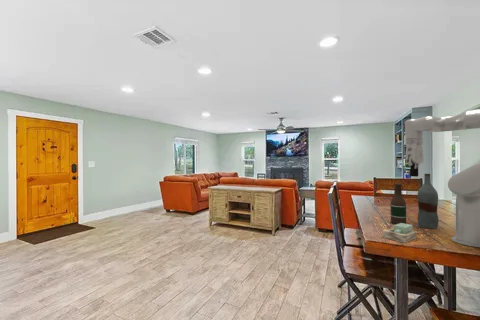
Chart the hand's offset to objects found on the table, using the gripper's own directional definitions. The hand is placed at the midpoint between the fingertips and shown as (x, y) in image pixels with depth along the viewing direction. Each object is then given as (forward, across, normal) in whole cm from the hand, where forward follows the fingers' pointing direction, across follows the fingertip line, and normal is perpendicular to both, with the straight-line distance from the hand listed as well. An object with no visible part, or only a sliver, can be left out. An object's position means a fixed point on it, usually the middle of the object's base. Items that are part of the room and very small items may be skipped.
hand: (414, 176), depth 124 cm
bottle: (+26, -11, -1) cm, 29 cm away
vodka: (+29, +14, -1) cm, 32 cm away
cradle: (+29, -19, -1) cm, 35 cm away
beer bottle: (+29, +7, +11) cm, 32 cm away
